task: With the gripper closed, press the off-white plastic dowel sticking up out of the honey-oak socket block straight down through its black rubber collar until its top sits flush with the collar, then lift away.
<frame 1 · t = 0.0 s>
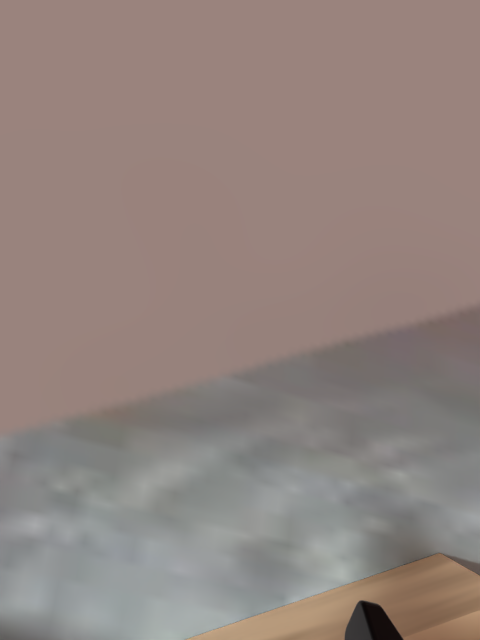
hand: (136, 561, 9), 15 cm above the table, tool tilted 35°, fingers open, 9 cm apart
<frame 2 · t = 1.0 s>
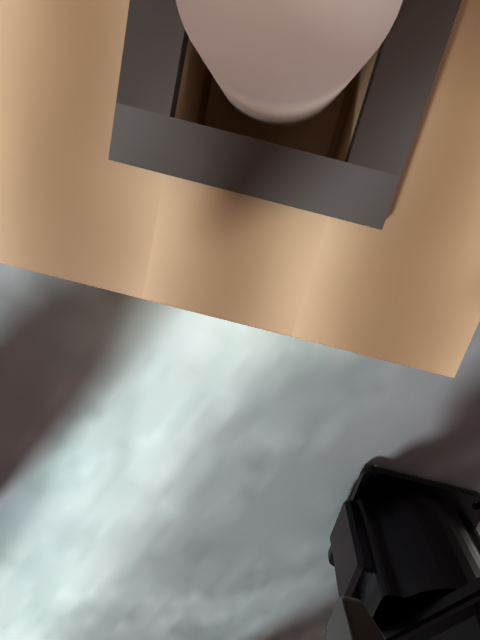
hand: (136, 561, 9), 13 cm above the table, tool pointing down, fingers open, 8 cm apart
socket block: (279, 84, 17), on the table
dowel: (284, 21, 10), point 8 cm above the table, slide at 0.0 cm
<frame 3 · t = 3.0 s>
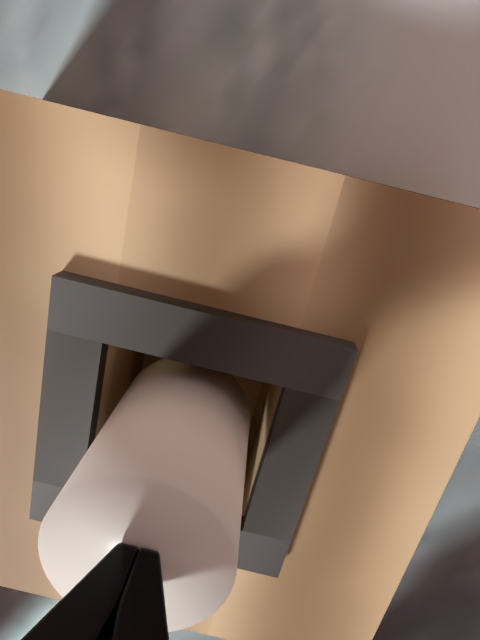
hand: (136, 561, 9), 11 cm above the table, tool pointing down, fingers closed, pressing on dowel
socket block: (208, 352, 19), on the table
dowel: (167, 470, 11), point 8 cm above the table, slide at 0.0 cm, touching gripper
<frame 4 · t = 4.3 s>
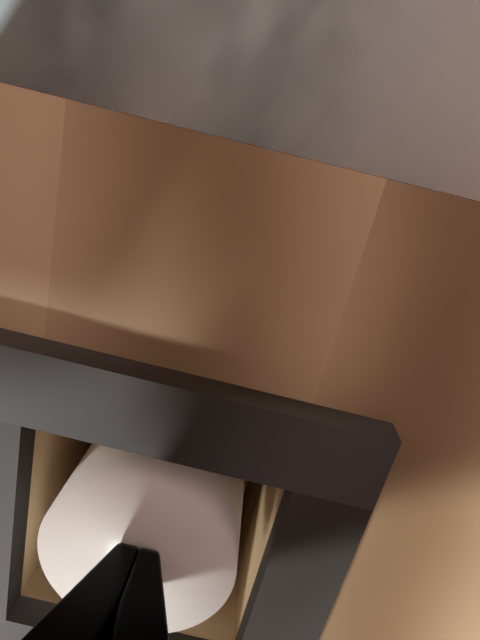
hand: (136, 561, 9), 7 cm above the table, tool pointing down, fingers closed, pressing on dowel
socket block: (192, 398, 15), on the table
dowel: (167, 470, 11), point 4 cm above the table, slide at 4.0 cm, touching gripper
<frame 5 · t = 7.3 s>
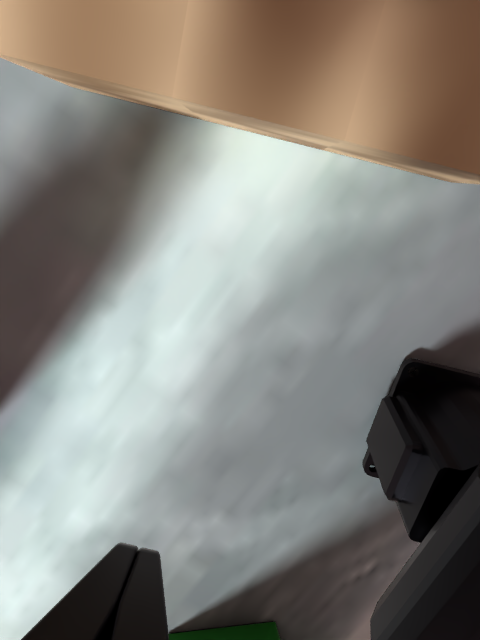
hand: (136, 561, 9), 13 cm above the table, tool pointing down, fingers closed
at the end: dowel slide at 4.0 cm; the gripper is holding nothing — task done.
